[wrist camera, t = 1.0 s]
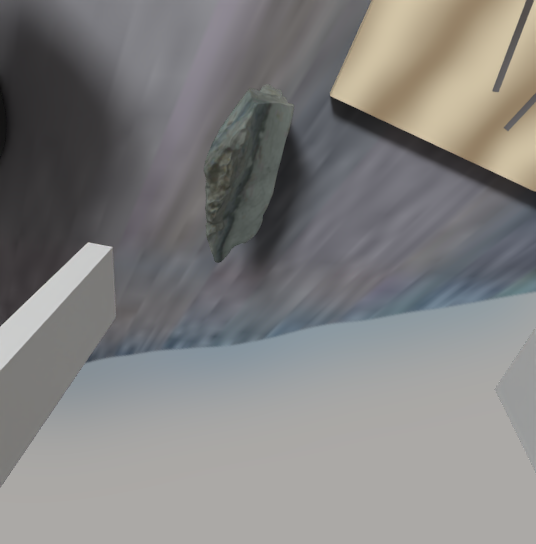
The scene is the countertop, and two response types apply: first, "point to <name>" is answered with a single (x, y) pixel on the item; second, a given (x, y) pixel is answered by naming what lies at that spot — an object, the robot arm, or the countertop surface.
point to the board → (451, 77)
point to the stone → (244, 168)
